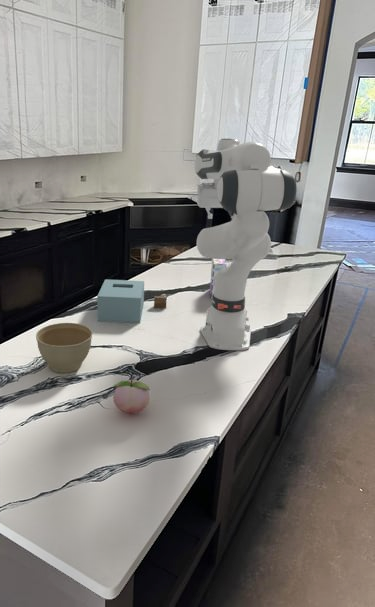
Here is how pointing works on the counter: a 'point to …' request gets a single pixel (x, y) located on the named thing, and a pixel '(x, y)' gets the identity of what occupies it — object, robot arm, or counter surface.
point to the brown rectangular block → (160, 302)
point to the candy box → (216, 267)
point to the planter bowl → (64, 345)
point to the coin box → (121, 301)
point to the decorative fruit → (131, 396)
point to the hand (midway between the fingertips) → (221, 218)
